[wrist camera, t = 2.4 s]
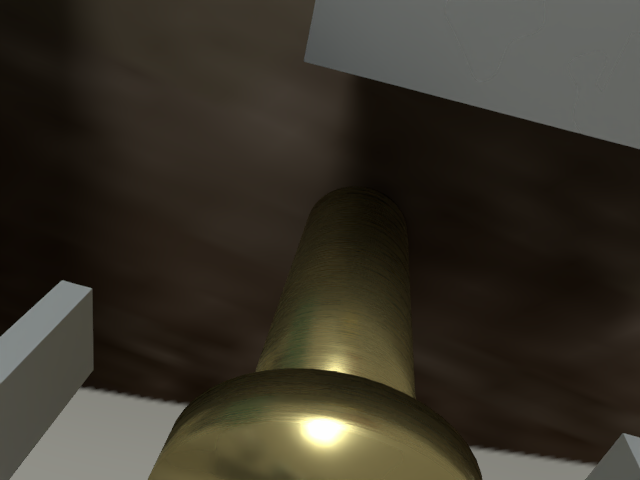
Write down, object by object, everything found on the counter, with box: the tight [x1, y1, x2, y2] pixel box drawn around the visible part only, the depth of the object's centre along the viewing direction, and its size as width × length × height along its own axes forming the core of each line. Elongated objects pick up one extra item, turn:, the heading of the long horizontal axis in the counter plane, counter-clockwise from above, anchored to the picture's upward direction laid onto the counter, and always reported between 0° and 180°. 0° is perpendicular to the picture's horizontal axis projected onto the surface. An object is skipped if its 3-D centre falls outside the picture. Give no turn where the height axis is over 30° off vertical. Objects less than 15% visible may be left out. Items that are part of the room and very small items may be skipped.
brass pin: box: [148, 186, 482, 480], centre depth 14 cm, size 6×6×12 cm
